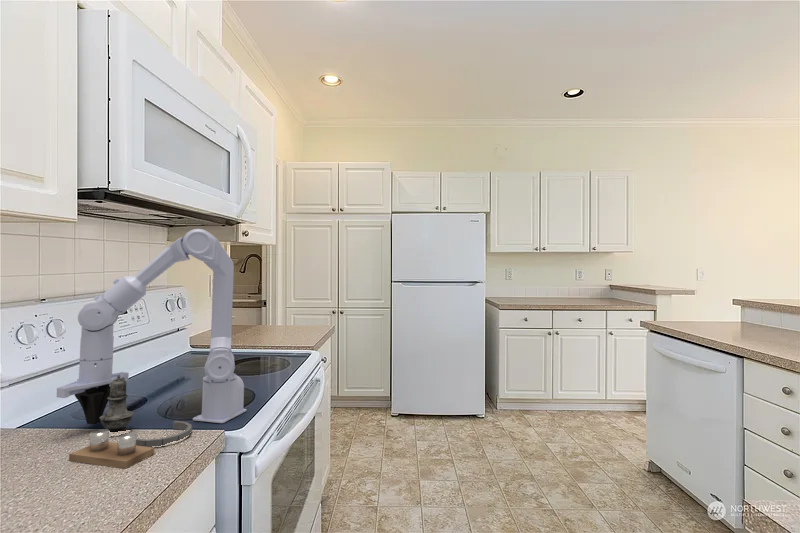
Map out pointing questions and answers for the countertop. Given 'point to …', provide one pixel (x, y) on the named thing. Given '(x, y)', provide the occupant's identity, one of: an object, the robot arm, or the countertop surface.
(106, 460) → the pin board
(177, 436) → the segmented grey arc
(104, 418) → the grey stone tall piece
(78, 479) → the countertop surface
